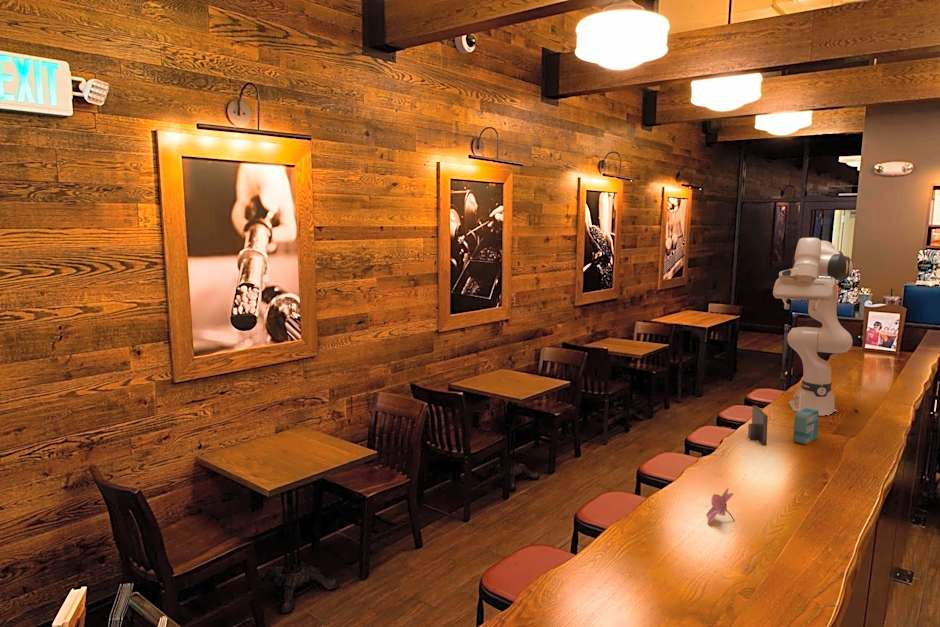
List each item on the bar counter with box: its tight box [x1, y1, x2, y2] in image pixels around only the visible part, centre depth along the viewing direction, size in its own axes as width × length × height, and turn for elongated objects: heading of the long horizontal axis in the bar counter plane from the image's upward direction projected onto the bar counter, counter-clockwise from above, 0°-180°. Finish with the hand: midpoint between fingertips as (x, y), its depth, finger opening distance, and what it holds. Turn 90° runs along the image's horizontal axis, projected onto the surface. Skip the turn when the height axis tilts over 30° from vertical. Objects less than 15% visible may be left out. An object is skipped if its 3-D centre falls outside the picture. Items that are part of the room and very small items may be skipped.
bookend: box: [747, 405, 769, 446], centre depth 252 cm, size 14×4×12 cm, turn 172°
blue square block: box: [793, 408, 819, 445], centre depth 249 cm, size 12×4×12 cm, turn 131°
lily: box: [706, 487, 735, 526], centre depth 185 cm, size 12×12×10 cm
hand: (800, 309), depth 235 cm, fingers open, 8 cm apart
